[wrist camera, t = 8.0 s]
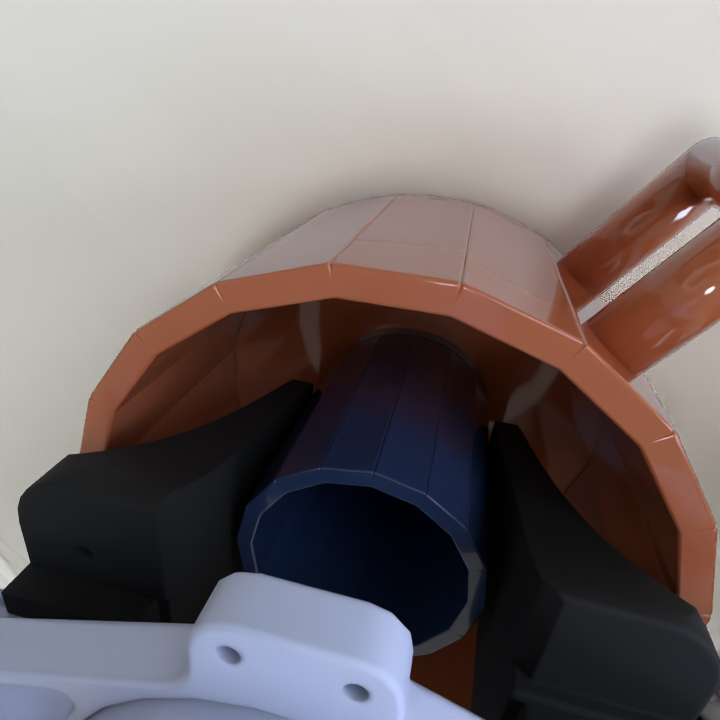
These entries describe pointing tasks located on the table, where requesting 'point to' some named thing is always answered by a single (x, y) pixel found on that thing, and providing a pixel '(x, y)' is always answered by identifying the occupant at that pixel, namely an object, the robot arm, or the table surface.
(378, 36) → the table surface
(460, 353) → the cup
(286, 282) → the orange handled mug
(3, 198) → the table surface
